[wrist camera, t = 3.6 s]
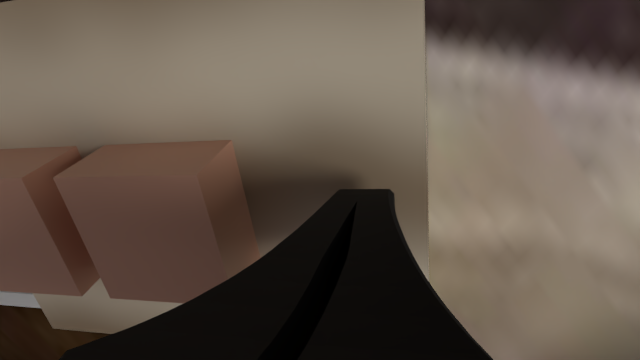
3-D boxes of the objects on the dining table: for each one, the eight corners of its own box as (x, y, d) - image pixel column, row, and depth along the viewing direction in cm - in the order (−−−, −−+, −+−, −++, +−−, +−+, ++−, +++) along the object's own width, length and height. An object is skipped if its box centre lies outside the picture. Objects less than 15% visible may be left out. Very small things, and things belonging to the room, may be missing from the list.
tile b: (123, 254, 14) (81, 296, 13) (28, 251, 15) (-21, 289, 14) (76, 146, 12) (20, 178, 11) (-27, 150, 13) (-93, 180, 12)
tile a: (261, 259, 13) (236, 307, 11) (148, 255, 14) (110, 298, 12) (231, 139, 11) (196, 175, 10) (104, 145, 12) (52, 177, 11)
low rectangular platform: (429, 287, 17) (429, 363, 14) (107, 271, 20) (52, 328, 17) (423, -61, 11) (422, -62, 8) (-16, 5, 15) (-126, 22, 12)
